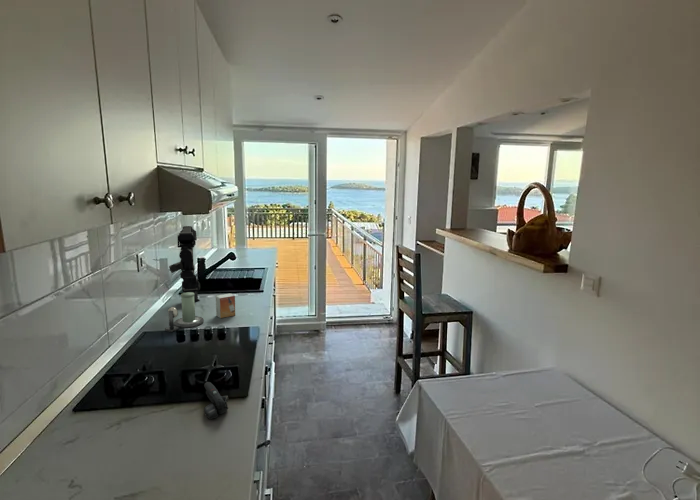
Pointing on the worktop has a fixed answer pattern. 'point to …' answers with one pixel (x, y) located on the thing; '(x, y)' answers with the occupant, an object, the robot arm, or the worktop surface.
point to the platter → (195, 323)
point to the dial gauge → (172, 314)
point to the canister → (188, 307)
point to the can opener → (214, 401)
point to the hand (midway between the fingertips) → (188, 286)
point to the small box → (225, 305)
